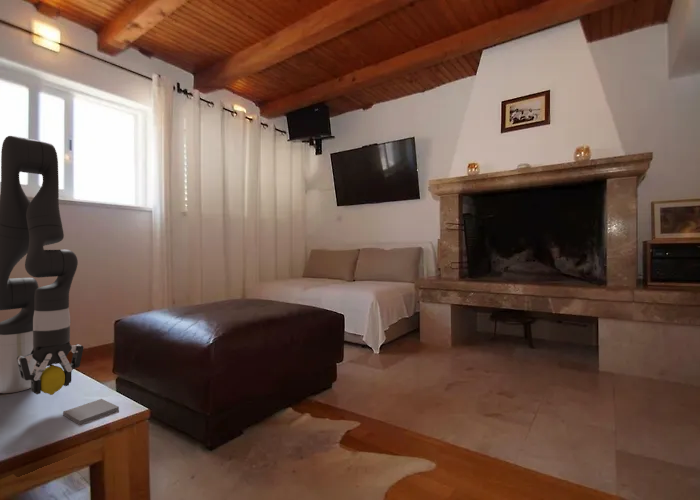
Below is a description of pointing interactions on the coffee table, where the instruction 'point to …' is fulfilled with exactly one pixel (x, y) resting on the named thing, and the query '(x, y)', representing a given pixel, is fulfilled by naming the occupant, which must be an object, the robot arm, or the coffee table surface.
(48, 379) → the lemon
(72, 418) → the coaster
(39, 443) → the coffee table surface
